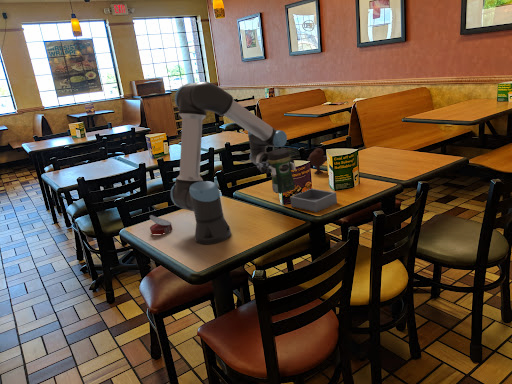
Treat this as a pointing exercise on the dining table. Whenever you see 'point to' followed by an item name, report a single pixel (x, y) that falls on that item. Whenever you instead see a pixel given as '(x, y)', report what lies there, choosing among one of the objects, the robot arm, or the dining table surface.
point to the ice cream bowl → (317, 159)
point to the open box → (313, 200)
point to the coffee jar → (281, 170)
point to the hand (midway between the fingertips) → (284, 169)
